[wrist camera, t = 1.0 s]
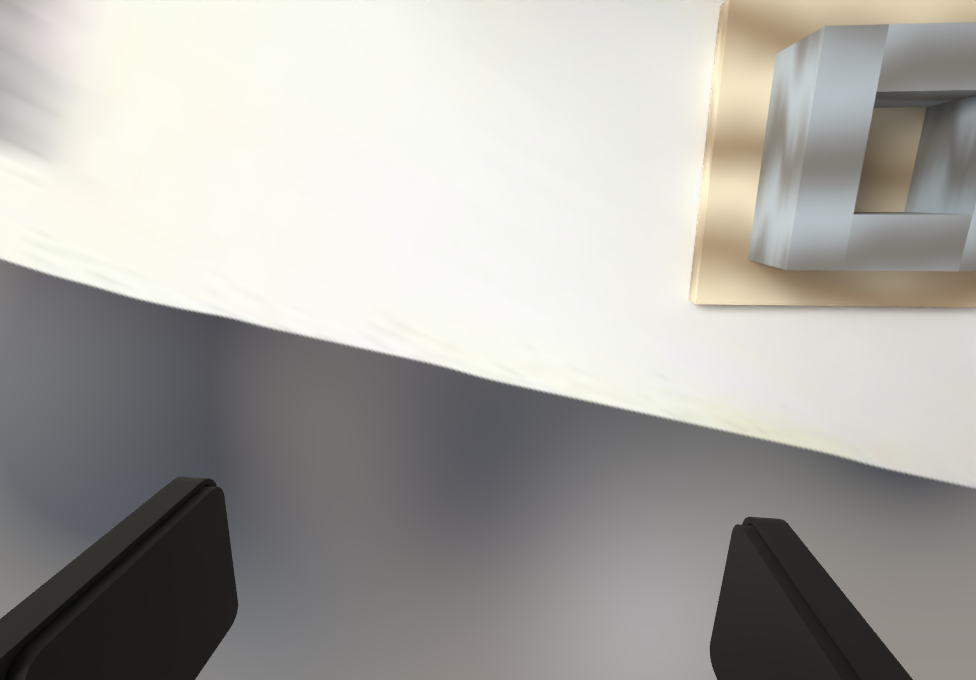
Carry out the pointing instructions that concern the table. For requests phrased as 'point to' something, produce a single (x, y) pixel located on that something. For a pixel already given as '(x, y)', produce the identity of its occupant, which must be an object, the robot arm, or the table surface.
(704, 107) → the table surface
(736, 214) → the socket board
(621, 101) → the table surface
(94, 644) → the robot arm
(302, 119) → the table surface
